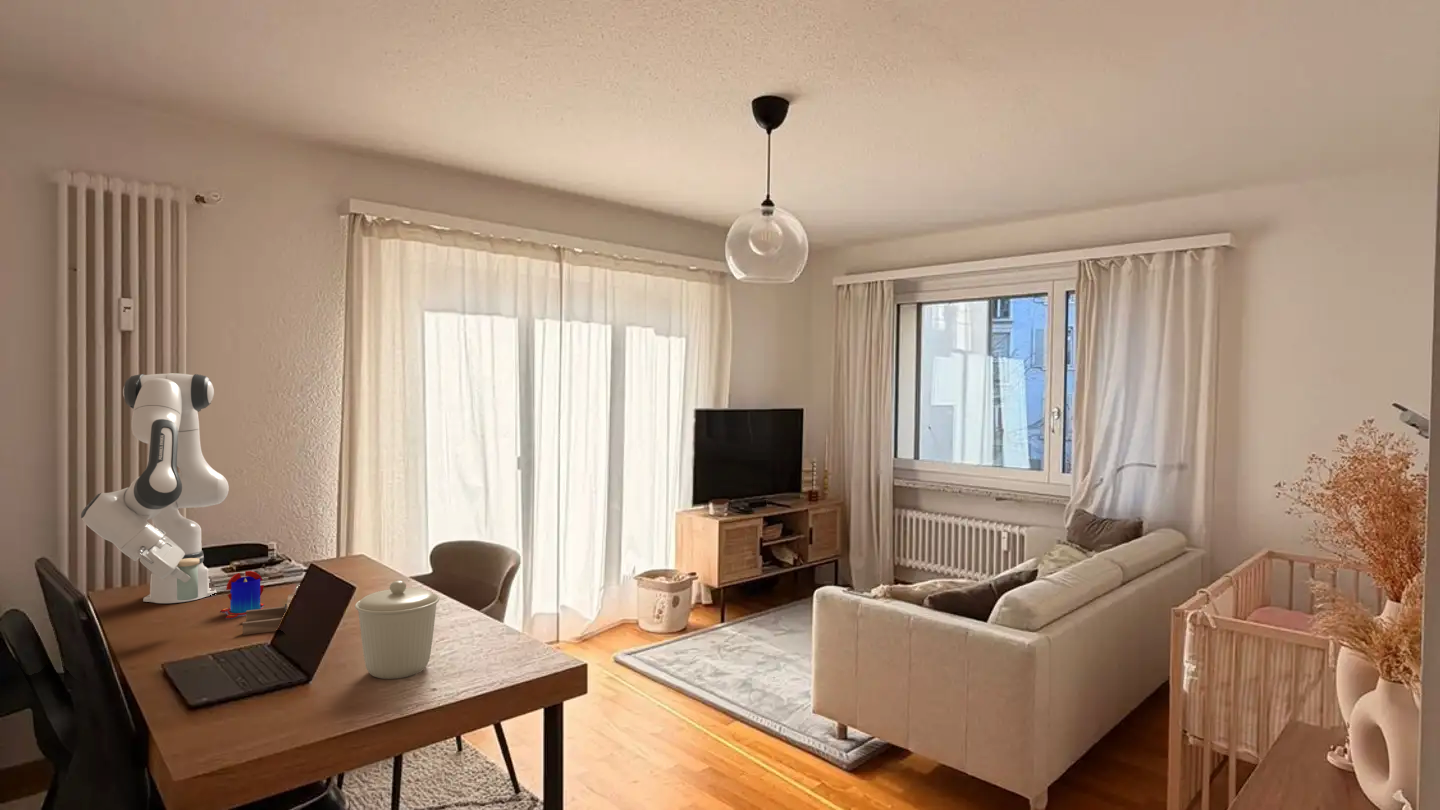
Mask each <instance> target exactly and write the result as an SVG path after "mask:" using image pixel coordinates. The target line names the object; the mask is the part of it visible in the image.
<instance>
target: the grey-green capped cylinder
mask: <svg viewBox="0 0 1440 810" xmlns="http://www.w3.org/2000/svg"><path fill="white" fill-rule="evenodd" d="M199 563H200V559H198V558H186V559H181V560H180V562H179V564H178V565H177V567H178V568H180V570H182V571H183V572H185V573H187V574H189V575H190V576H191V578H190V579H189V580H188V581H187V582H183V581H181V580H180V579H178V578H177V600H190V599H195V598H197V597H198V564H199Z"/></svg>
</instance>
